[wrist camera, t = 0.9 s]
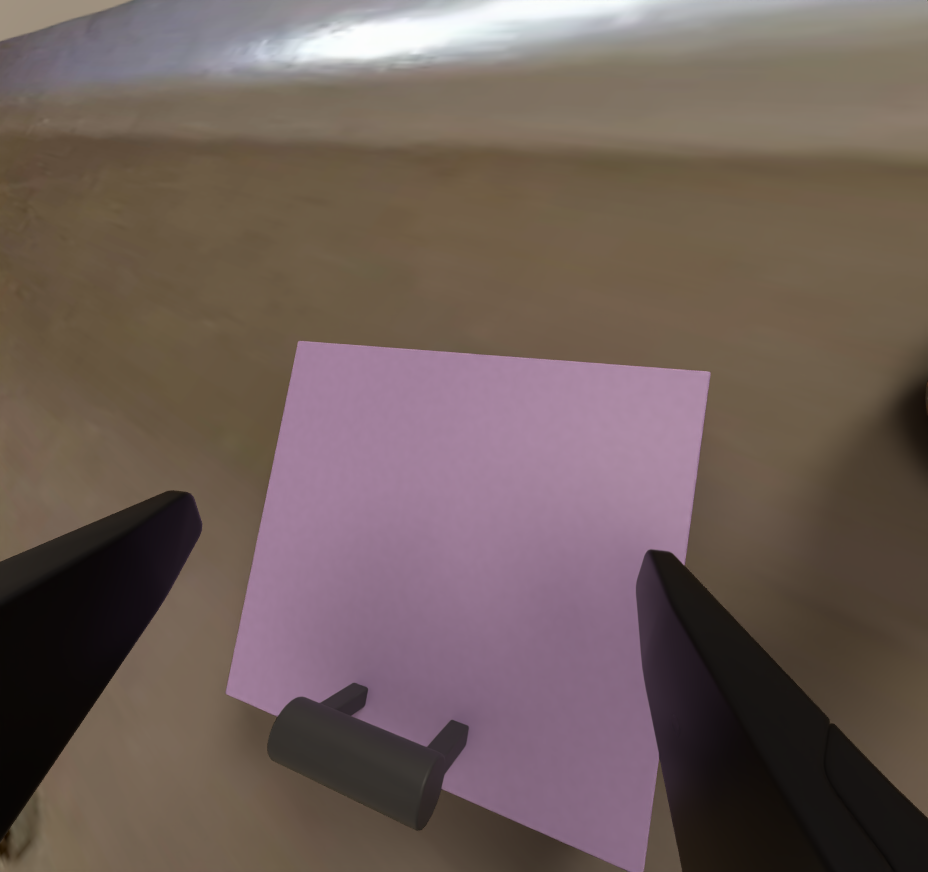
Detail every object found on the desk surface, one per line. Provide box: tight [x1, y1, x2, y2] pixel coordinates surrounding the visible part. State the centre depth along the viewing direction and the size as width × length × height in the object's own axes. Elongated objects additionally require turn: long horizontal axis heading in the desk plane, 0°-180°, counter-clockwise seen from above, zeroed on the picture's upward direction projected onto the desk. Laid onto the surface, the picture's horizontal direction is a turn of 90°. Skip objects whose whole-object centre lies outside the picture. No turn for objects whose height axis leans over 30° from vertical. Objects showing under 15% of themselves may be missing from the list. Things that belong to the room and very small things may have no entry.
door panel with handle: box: [226, 341, 710, 872], centre depth 16 cm, size 15×16×5 cm
